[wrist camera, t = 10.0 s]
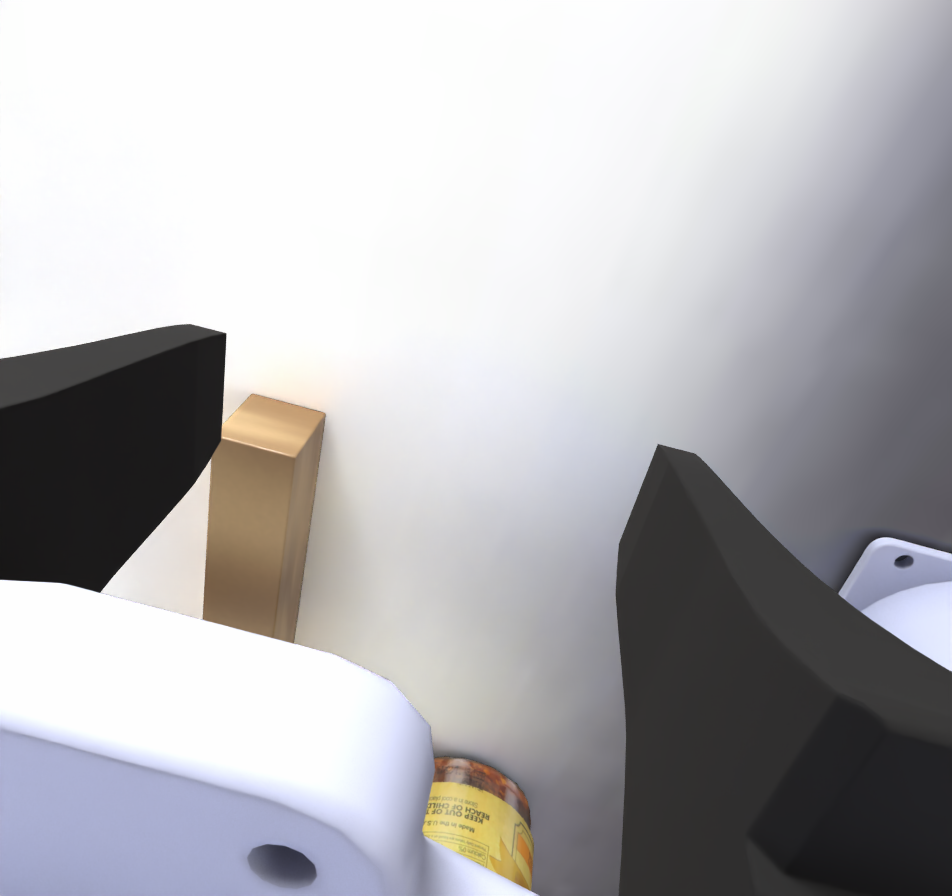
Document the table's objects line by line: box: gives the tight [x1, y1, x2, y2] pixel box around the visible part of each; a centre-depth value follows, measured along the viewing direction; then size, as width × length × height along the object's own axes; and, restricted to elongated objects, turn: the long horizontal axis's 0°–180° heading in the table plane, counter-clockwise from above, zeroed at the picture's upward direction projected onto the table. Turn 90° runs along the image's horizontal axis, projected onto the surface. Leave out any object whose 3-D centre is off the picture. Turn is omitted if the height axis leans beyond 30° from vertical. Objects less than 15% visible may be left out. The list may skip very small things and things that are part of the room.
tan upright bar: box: [203, 394, 326, 644], centre depth 27 cm, size 20×6×3 cm, turn 167°
